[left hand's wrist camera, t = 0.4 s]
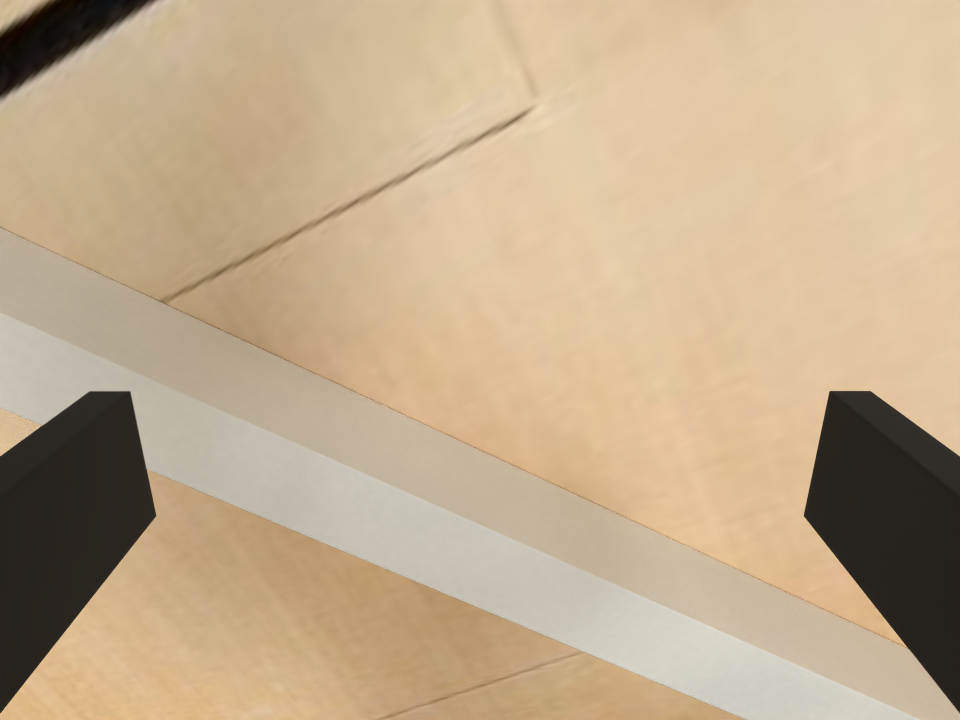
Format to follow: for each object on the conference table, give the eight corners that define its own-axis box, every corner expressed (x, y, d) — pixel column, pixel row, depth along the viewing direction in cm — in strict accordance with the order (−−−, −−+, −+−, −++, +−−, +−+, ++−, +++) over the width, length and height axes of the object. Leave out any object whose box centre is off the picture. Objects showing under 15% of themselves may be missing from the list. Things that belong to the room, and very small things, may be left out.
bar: (-51, 287, 39) (-180, 333, 31) (-33, 212, 37) (-164, 240, 30) (885, 702, 51) (956, 808, 43) (930, 658, 49) (1012, 760, 42)
